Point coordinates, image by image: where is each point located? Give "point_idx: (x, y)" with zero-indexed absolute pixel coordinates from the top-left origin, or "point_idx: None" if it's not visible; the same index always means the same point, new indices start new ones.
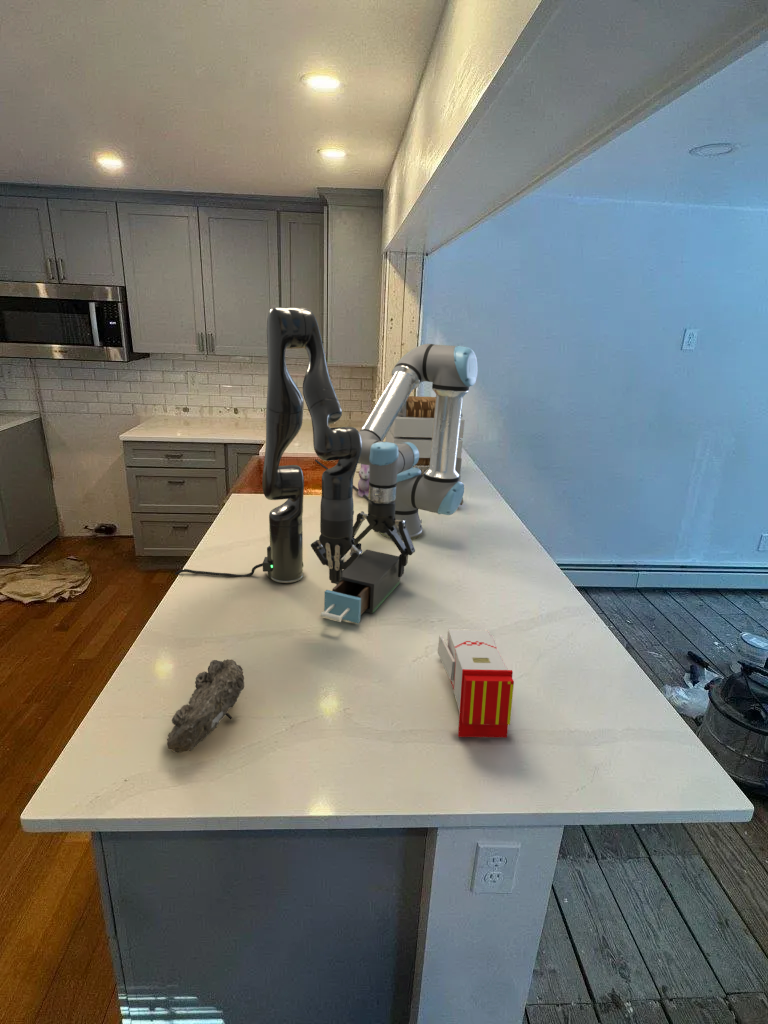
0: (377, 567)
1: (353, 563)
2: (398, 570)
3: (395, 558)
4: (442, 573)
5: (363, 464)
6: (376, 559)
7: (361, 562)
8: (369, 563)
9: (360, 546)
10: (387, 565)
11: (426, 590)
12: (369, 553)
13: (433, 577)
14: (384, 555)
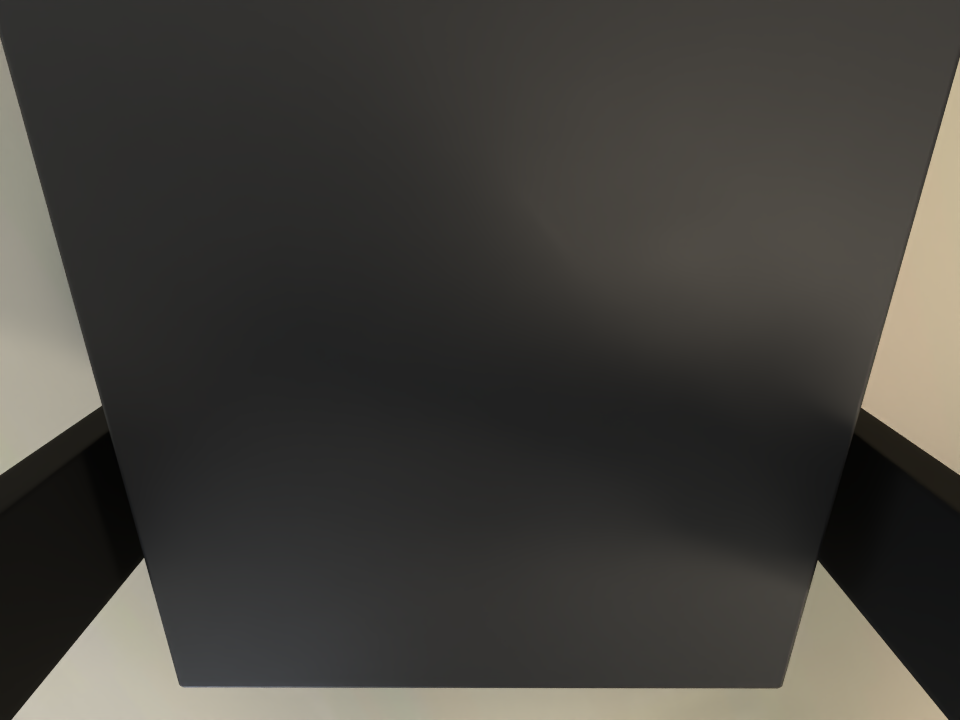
0: (288, 85)
1: (909, 5)
2: None
3: (215, 608)
4: (120, 710)
5: None
6: (487, 440)
7: (730, 161)
8: (542, 199)
9: (953, 679)
10: (160, 291)
11: (51, 433)
12: (695, 591)
13: (138, 639)
14: (430, 627)
